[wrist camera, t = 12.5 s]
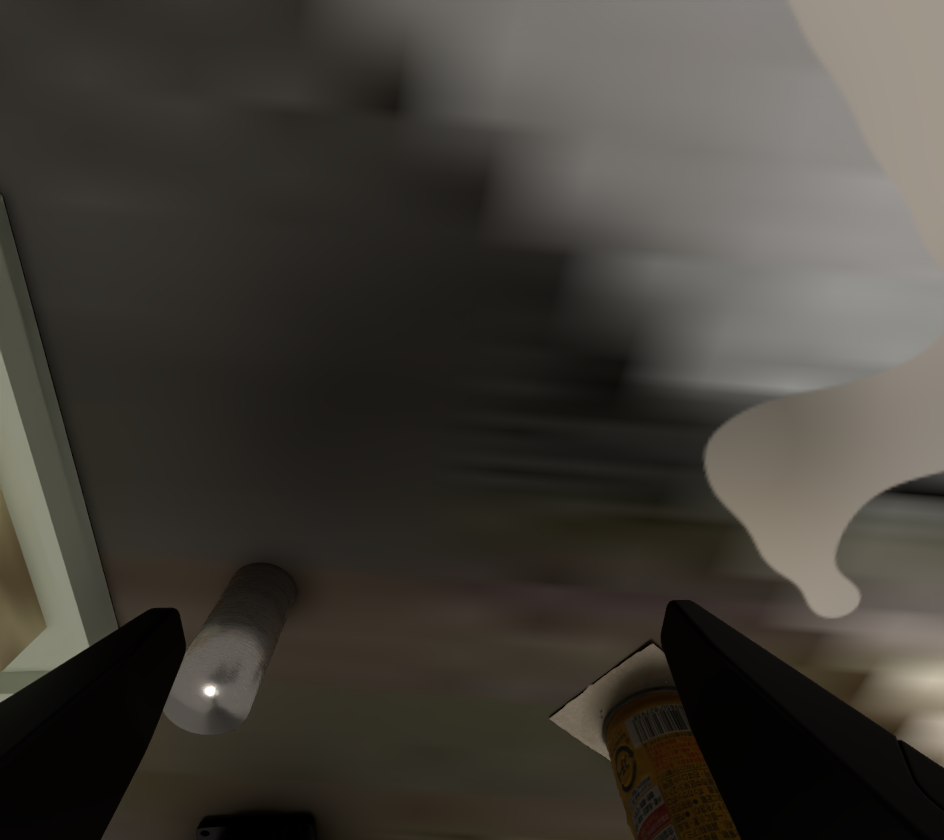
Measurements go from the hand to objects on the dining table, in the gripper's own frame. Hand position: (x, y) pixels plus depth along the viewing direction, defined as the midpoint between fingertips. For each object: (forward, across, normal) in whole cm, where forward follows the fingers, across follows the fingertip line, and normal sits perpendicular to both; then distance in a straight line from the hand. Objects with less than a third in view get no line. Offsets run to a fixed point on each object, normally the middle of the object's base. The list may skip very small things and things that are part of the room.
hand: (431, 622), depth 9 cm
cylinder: (+12, +8, +9) cm, 17 cm away
